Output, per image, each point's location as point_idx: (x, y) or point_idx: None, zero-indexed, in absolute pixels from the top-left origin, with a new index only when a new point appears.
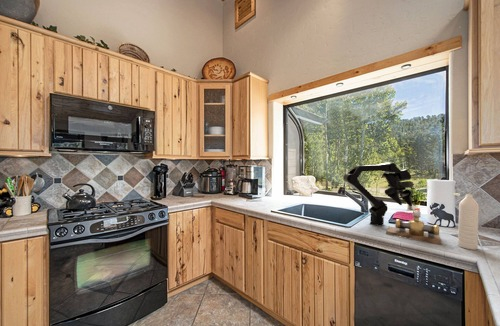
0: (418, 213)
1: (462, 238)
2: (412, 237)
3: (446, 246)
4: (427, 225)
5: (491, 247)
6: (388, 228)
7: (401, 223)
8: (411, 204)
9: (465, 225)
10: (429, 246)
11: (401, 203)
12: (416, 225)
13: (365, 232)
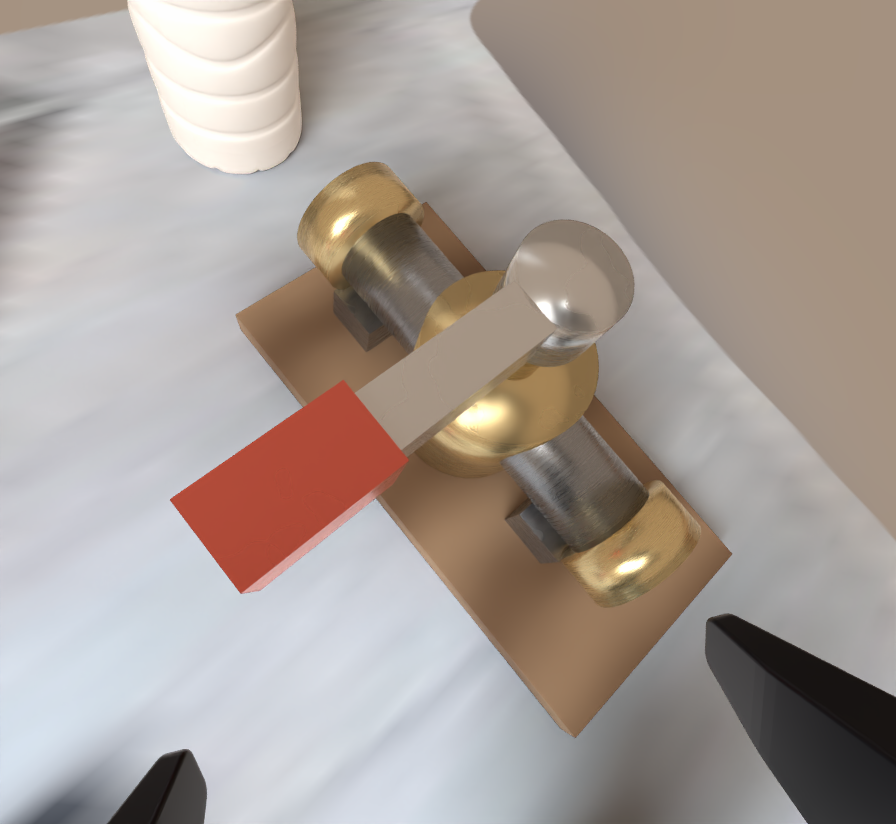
0: (587, 234)
1: (296, 61)
2: None
3: (410, 185)
4: (431, 265)
5: (12, 53)
6: (643, 640)
7: (636, 478)
8: (173, 778)
9: None
10: None
11: (750, 625)
12: None
13: (889, 636)
